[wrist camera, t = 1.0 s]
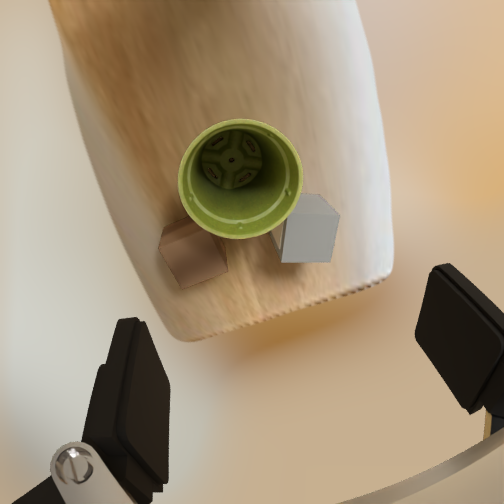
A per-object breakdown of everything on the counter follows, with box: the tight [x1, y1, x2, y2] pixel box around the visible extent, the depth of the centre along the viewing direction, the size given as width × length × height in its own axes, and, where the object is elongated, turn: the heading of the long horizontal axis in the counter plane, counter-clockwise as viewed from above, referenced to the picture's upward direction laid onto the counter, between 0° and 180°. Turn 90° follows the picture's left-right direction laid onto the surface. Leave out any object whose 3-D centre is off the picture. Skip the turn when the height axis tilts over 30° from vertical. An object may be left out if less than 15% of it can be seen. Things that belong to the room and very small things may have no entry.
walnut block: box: [158, 216, 228, 289], centre depth 32 cm, size 5×5×5 cm
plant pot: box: [178, 119, 303, 239], centre depth 27 cm, size 9×9×9 cm
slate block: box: [270, 193, 340, 263], centre depth 32 cm, size 5×5×6 cm
